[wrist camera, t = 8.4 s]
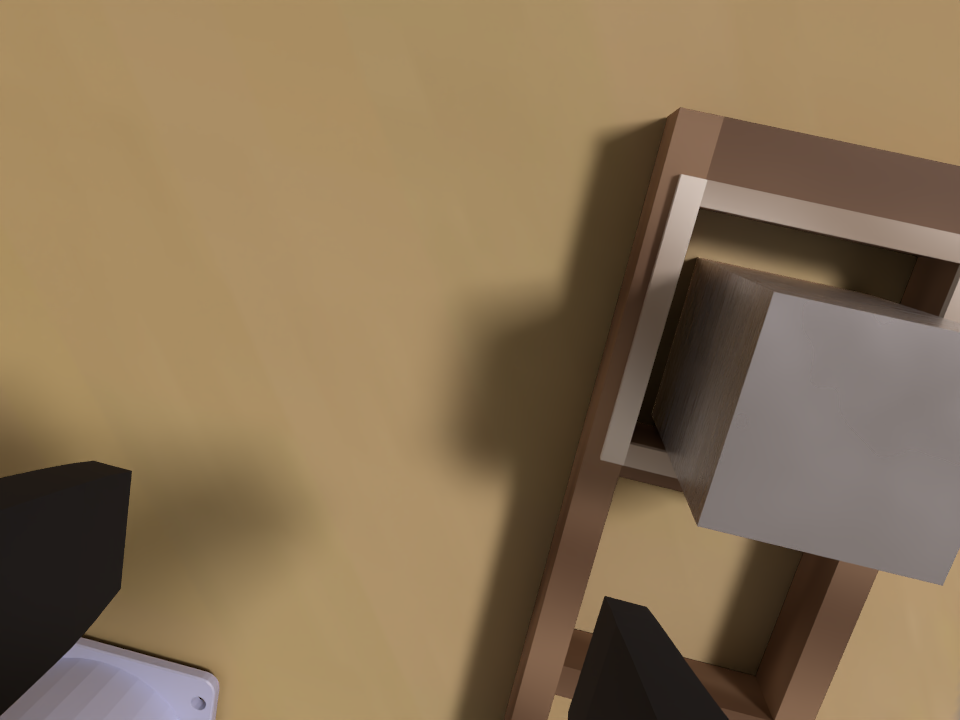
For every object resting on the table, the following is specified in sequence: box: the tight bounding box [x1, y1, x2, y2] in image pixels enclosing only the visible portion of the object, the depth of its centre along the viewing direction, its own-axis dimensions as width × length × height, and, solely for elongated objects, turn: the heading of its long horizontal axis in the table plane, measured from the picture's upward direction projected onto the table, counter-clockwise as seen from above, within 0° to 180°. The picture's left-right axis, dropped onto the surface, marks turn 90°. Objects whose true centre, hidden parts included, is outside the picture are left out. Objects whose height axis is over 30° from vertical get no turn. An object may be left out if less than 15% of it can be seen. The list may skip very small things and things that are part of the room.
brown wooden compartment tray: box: [504, 107, 960, 720], centre depth 18 cm, size 24×8×2 cm, turn 168°
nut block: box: [652, 257, 960, 586], centre depth 15 cm, size 4×4×6 cm
